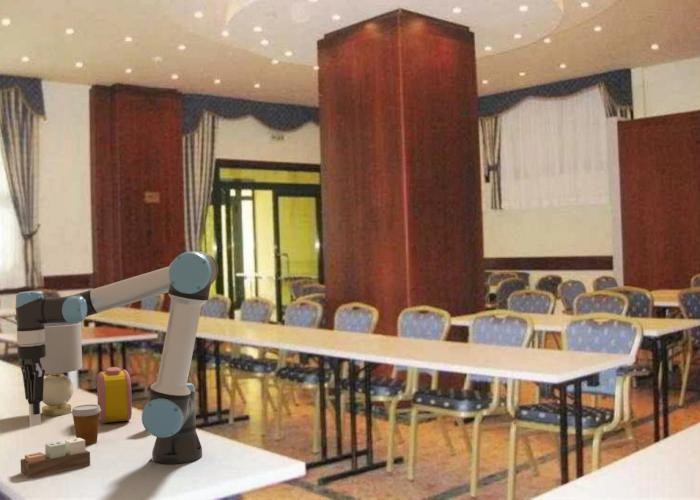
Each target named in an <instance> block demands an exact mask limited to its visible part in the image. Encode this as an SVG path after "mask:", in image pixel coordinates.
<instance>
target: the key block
mask: <svg viewBox="0 0 700 500" xmlns="http://www.w3.org/2000/svg"><path fill="white" fill-rule="evenodd" d="M88 466H91V453H90V451H88V450H87V449H86V452H83V453H78V454H73V455H69V454H67V453H66V456H63V457H58V458H53V459H49V458H47V457H46V454H45V460H43V461H38V462H33V463H28V462H26V461H25V458H21V459H20V474H22V473H23V474H24V476H25V477H26V478H29V479H31V478H36V477H43V476H46V475H51V474H54V473H56V474H57V473H59V472H63V471H65V472H66V471H69V470H74V469H79V468H85V467H88ZM23 474H22V475H23Z"/></svg>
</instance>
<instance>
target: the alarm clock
mask: <svg viewBox="0 0 700 500" xmlns="http://www.w3.org/2000/svg"><path fill="white" fill-rule="evenodd" d="M96 377H97V378H96V391H97V393H96V395H97V397H96V398H97V405H99V406H100V409H101V411H100V415H99V421H100V422H101V423H103V424H107V423H116V422H124V421H126V422H128V421H130V420H131V419H132V414H133V407H132V406H133V405H132V404H133V403H132V401H133V400H132V399H133V398H132V382H131V381H132V380H131V376H130V374H129V372H128V370H127V369H121V368H120V367H118V366H111V367H107V368H106V369H105V371H100V372H98V374H97V376H96Z"/></svg>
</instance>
